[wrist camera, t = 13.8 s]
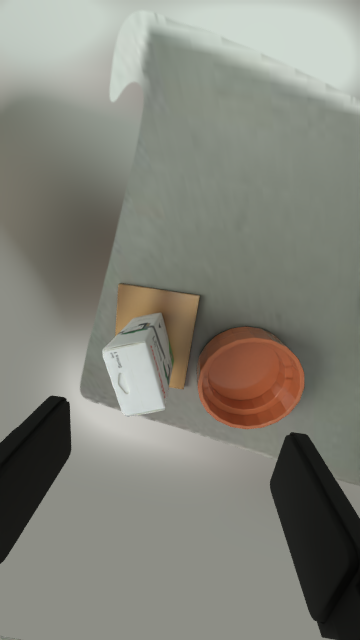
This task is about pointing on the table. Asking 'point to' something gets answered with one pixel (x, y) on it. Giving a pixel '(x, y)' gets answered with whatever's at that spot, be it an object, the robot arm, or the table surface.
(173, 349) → the wooden board
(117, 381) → the ink box
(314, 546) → the robot arm
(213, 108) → the table surface
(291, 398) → the bowl
